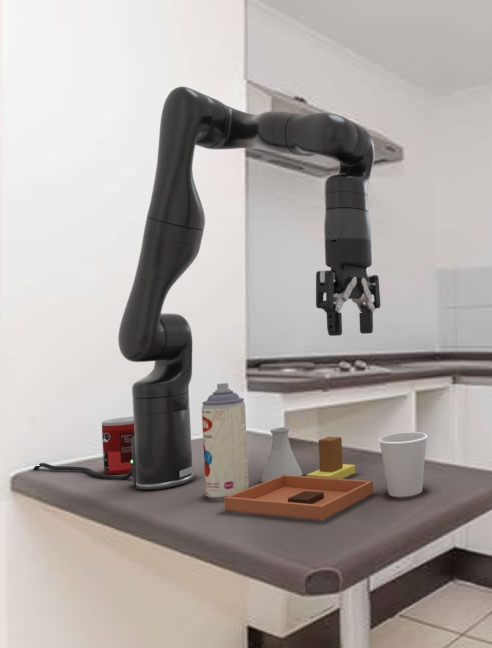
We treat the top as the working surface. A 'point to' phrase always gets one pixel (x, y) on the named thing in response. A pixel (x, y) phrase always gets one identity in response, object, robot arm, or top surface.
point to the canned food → (117, 444)
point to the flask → (281, 457)
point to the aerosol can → (224, 443)
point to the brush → (332, 460)
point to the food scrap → (306, 497)
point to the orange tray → (278, 490)
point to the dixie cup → (404, 462)
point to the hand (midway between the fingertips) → (351, 334)
